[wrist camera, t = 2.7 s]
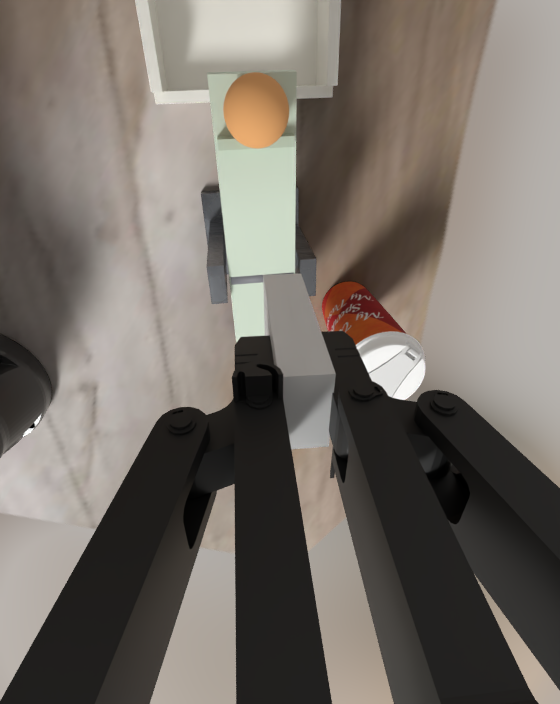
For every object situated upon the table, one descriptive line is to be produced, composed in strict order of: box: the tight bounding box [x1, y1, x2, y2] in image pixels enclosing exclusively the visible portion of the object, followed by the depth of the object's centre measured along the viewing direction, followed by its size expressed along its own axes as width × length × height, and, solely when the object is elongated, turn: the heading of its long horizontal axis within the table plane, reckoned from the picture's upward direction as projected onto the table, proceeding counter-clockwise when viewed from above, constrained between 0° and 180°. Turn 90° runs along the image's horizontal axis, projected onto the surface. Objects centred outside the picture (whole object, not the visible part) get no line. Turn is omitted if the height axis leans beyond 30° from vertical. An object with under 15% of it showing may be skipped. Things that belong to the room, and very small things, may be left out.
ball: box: [223, 72, 289, 149], centre depth 22 cm, size 4×4×4 cm
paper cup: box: [322, 281, 425, 400], centre depth 41 cm, size 8×8×14 cm
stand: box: [201, 186, 316, 304], centre depth 36 cm, size 9×8×12 cm
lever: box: [207, 70, 297, 343], centre depth 32 cm, size 5×21×8 cm, turn 2°
